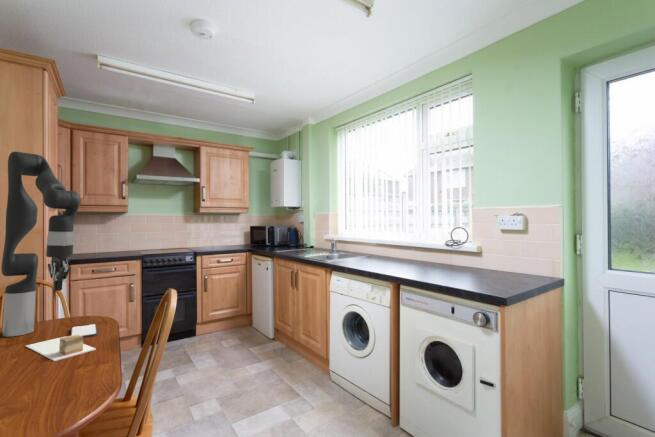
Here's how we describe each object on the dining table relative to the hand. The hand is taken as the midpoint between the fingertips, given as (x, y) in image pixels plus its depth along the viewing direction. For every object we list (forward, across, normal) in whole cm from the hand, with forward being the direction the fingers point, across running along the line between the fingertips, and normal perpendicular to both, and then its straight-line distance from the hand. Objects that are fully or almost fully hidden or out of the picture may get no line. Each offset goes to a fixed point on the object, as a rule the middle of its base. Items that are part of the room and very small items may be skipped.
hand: (57, 290), depth 115 cm
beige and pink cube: (+15, +11, +1) cm, 19 cm away
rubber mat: (+21, +3, +1) cm, 21 cm away
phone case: (+22, -10, +14) cm, 28 cm away
